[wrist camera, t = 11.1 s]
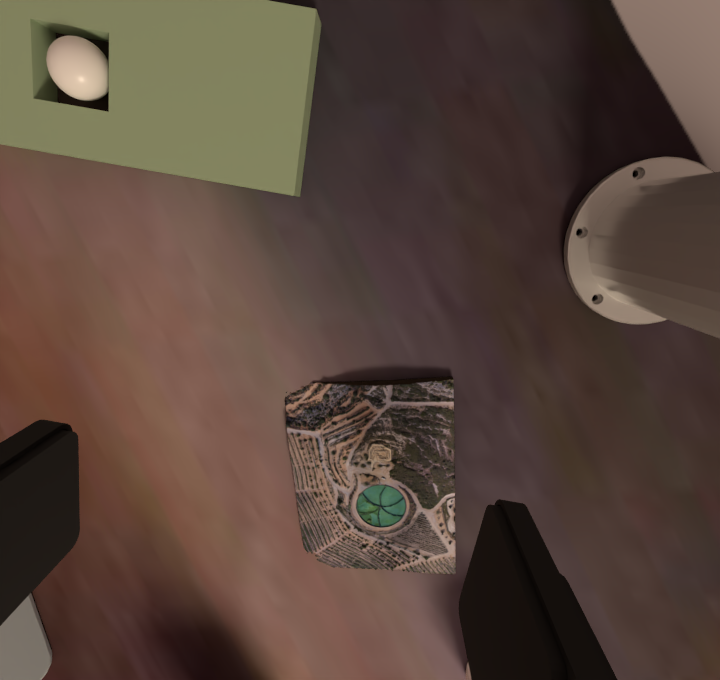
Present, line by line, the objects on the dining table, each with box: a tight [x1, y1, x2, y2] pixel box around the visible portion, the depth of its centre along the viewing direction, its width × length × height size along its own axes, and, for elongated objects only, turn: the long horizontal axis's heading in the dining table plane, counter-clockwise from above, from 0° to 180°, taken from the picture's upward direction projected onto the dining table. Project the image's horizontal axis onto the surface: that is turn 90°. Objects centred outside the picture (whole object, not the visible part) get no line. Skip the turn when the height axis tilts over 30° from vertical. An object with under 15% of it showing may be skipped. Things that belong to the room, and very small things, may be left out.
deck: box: [0, 0, 321, 197], centre depth 32 cm, size 22×12×2 cm, turn 80°
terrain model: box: [285, 377, 456, 574], centre depth 41 cm, size 20×15×3 cm
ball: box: [46, 35, 109, 101], centre depth 31 cm, size 4×4×4 cm
